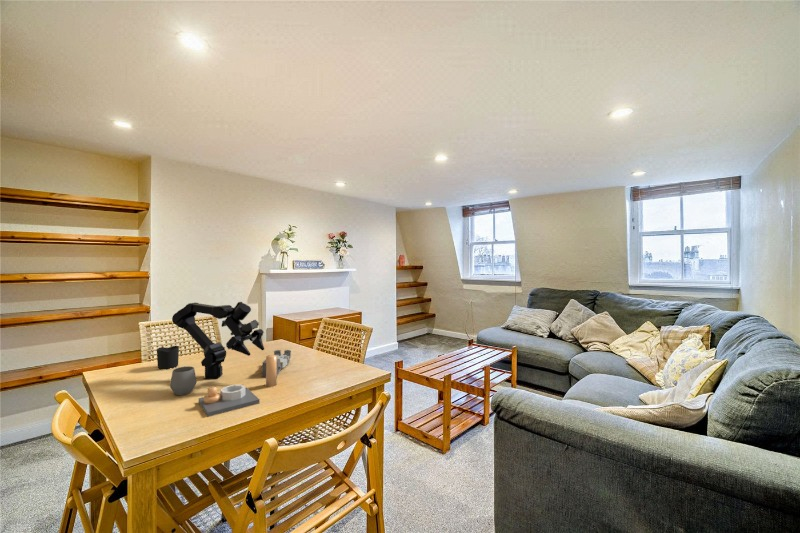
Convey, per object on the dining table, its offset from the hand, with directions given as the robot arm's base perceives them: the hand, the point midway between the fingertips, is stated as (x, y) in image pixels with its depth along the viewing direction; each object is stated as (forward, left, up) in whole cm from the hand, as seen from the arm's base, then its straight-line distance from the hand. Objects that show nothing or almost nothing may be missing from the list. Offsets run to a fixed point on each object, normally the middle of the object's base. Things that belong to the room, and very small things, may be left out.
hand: (256, 352), depth 155 cm
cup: (-27, -10, -14) cm, 32 cm away
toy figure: (+3, +23, -14) cm, 28 cm away
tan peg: (+7, -4, -14) cm, 16 cm away
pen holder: (-52, +26, -14) cm, 60 cm away
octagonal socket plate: (-4, -21, -14) cm, 26 cm away
